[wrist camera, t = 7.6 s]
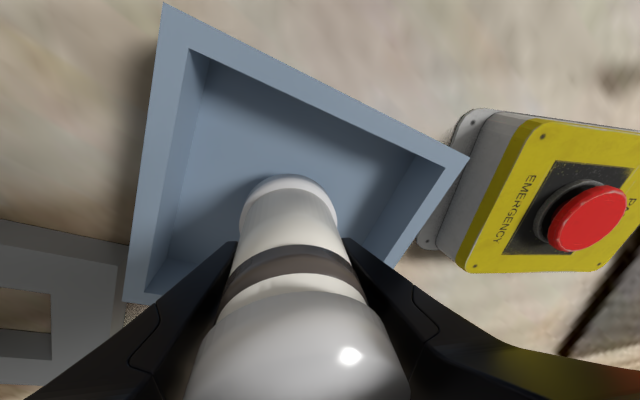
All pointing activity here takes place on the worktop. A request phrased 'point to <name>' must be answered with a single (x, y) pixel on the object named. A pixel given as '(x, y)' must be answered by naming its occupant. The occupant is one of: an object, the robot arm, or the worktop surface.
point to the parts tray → (264, 156)
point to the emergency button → (537, 195)
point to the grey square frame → (59, 298)
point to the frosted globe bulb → (294, 310)
